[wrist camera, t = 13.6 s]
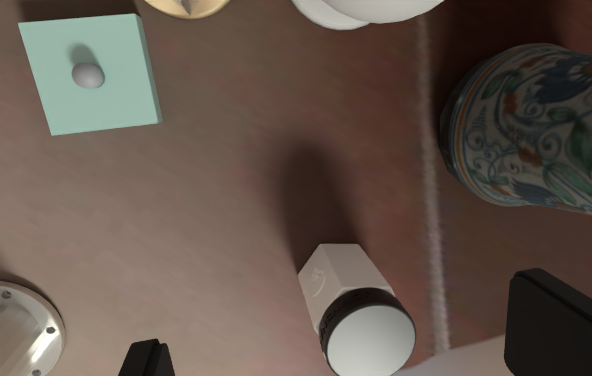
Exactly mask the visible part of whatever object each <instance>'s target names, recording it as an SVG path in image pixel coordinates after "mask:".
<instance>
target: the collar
mask: <svg viewBox="0 0 592 376" xmlns="http://www.w3.org/2000/svg"><path fill="white" fill-rule="evenodd" d="M172 1H173V2H174V3H176V4H177V5H178V6H179V7H180V8H182V9H183V10H184V11H185V12H186V13H188V14H189V15H191V13H192V12H193V10H194V9H195V8H196V6H197V5H198V3H199V2H200V1H201V0H172Z"/></svg>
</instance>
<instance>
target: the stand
mask: <svg viewBox="0 0 592 376" xmlns="http://www.w3.org/2000/svg"><path fill="white" fill-rule="evenodd" d="M18 26H19V29H20V32H21V35H22V39H23V42H24V45H25V49H26V52H27V55H28V59H29V62H30V65H31V68H32V72H33V75H34V78H35V82H36V85H37V88H38V92H39V95H40V98H41V102H42V105H43V108H44V111H45V115H46V118H47V121H48V125H49V128H50V131H51V135H61V134H69V133H78V132H86V131H95V130H104V129H112V128H121V127H129V126H138V125H146V124H155V123H160V122H162V121H163V119H162V115H161V110H160V105H159V100H158V96H157V91H156V86H155V81H154V76H153V72H152V67H151V62H150V57H149V53H148V48H147V43H146V38H145V33H144V29H143V24H142V19H141V17H139V16H138V15H136V14H123V15H111V16H98V17H86V18H74V19H62V20H49V21H37V22H25V23H18Z"/></svg>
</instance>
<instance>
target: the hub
mask: <svg viewBox="0 0 592 376" xmlns="http://www.w3.org/2000/svg"><path fill="white" fill-rule="evenodd" d="M145 1H146V2H147V3H149V4H150V5H151V6H152V7H154V8H155V9H156V10H158V11H160V12H162V13H164V14H166V15H168V16H171V17H174V18H178V19H185V20H195V19H202V18H205V17H208V16H210V15H213V14H215V13H216V12H218V11H219V10H221V9H222V8H223V7H224V6H225V5H226V4H227V3H228V2H229V1H230V0H201V1H200V2H199V3H198V5H197V6H196V8H195V9H194V10H193V12H192V13H191V15H189V14H188V13H186V12H185V11H184V10H183V9H182V8H180V7H179V6H178V5H177V4H176V3H174V2H173V1H172V0H145Z"/></svg>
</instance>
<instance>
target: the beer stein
mask: <svg viewBox="0 0 592 376" xmlns="http://www.w3.org/2000/svg"><path fill="white" fill-rule="evenodd" d="M439 147H440V150H441V153H442V155H443V158H444V161H445V164H446V166H447V169H448V172H449V173H450V174H452V175H453V176H454V177H455V178H456V179H457V180H458V181H459V182H460V183H461V184H462V185H464V186H465V187H466V188H467V189H468V190H469V191H471V192H472V193H474V194H475V195H476V196H478V197H479V198H481V199H483V200H485V201H487V202H490V203H494V204H497V205H502V206H523V205H537V206H545V207H551V208H557V209H563V210H567V211H574V212H579V213H583V214H588V215H592V54H588V53H582V52H575V51H571V50H568V49H566V48H564V47H561V46H558V45H555V44H549V43H532V44H524V45H519V46H516V47H513V48H510V49H508V50H505V51H503V52H501V53H499V54H497V55H494V56H492V57H490V58H488V59H485V60H483V61H481V62H480V63H478V64H477V65H476V66H474V67H473V68H472V69H470V70H469V71H468V72H467V73H466V74H465V75H464V77H463V78H462V79H461V80H460V81H459V83H458V84H457V85H456V86H455V88H454V89H453V90H452V91H451V92H450V95H449V97H448V99H447V102H446V104H445V106H444V109H443V111H442V113H441V116H440V132H439Z"/></svg>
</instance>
